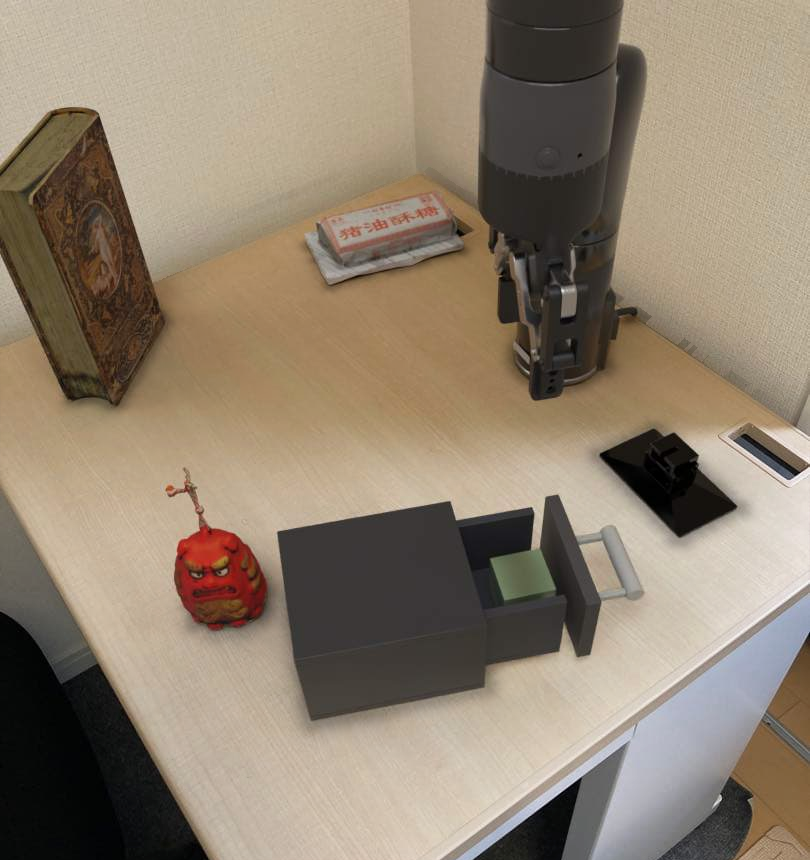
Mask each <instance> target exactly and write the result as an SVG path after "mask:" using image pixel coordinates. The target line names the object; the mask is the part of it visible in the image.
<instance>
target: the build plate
mask: <svg viewBox="0 0 810 860" xmlns="http://www.w3.org/2000/svg"><path fill="white" fill-rule="evenodd" d="M699 457H700V455H699V453H697V452H696V450H694V449H693V448H692V447H691V446H690V445H689V444H688V442H687V443H686V441H684V440H683V439H682V438H681V436H679V435H678V433H676V432H671V433H669V434H666V435H664V434H663V433H662V432H660V431H659V430H658V429H656V428H651V429H649V430H647V431H645V432H643V433H641V434H639V435H636V436H634V437H632V438H630V439H627V440H626V441H623V442H621V443H619V444H617V445H614V446H613V447H611V448H608V449H606V450H604V451H602V452H600V453H599V458H600V460H601V461H603V463H604V464H605V465H606V466H607V467H609V469H611V471H612V472H613V473H614V474H615V475H616V476H617V477H618V478H619V479H620V480H621V481H622V482H623V483H624V484H625V485H626V486H627V487H628V488H629V489H630V490H631V491H632V492H633V494H635V495H636V496H637V497H638V498H639V500H640V501H641V502H643V504H645V506H646V507H648V509H649V510H650V511H651V512H652V513H653V514H654V515H655V516H656V517H657V518H658V519H659V520H660V521H661V523H663V524H664V525H665V526H666V527H667V528H668V529H669V530H670V531H671V532H672V533H673V535H675V537H677V538H678V539H682V538H683V537H685V536H687V535H689V534H691V533H693V532H695V531H697V530H699V529H701V528H703V527H705V526H707V525H709V524H711V523H713V522H715V521H717V520H719V519H721V518H723V517H724V516H726V515H729V514H731V513H733V512H735V511H736V510H737V509H738V505H737V504H736V503H735V502H734V501H733V500H732V498H730V497H729V496H728V495H727V494H725V492H724V491H722V490H721V489H720V488H719V486H717V485H716V484H715V483H714V482H713V481H712V480H711V479H710V478H708V476H706V475H705V474H704V473H703V472H702V471H701V470H700V469H699V467H700V463H699V462H698V461H699Z"/></svg>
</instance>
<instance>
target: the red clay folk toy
mask: <svg viewBox="0 0 810 860" xmlns="http://www.w3.org/2000/svg"><path fill="white" fill-rule="evenodd" d="M182 470H183V472H184V473H185V475H184V478H185V481H184V482H183V485H184V488H175V487H174V486H173V485H172V484H168V485H166V487H165V492H166V494H167V497H168V498H174V497H175V496H176V495H178V494H185V493H187V494H188V495H189V497H190V500H191V501H192V503H193V505H194V507H195V509H194V512H195V514H197V515H198V528H199V530H198V531H196V532H193V533H192V534H191V535H189V536H188V537H187V538H182V539H180V540H179V541H178V543H177V547H176V557H175V561H174V571H173V582H174V585H175V590H176V593H177V595H178V597H179V598H180V601H181V605H182V607H183V608H184V609H185V610H186V611H187V612H188V613H189V615H190V617H191V618H192V620H193V621H194V622H195V623H197V624H200V625H201V624H202V625H205V626H206V627H207V628H208V629H209V630H212V631H218V630H220V629H221V630H222V629H223V628H224V627H225V626H231V627H232V628H239V627H243V626H244V625H246V624H247V623H249V622H250V621H253V620H256V619H258V618H259V617H260V616H261V615H262V613H263V612H264V605H265V601H266V596H267V592H268V581H267V579H266V577H265V574H264V572H263V571H262V568H261V565H260V563H259V560H258V559H257V558H256V556H255V555H254V552H252V549H251V547H250V546H249V545H248V544H247V543H244V542H243V540H242V539H241V538H240V537H239V536H238V535H237V534H236V533H235V532H230V531H228V530H225V529H222V528H217V527H215V528H214V527H213V528H212V527H211V526H210V525H209V524H208V522H207V521H206V519H205V517H204V516H203V515H204V512H205V508H204V507H203V505H200V504H199V499H198V495H197V492H196V490H197V489H198V487H197V485H196V486H195V485H194V483H193V482H192V481H191V473H190V471H189V469H188V468H187V467H183V468H182Z"/></svg>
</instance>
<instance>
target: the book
mask: <svg viewBox="0 0 810 860" xmlns="http://www.w3.org/2000/svg"><path fill="white" fill-rule="evenodd" d="M143 252H144V251H143V249H142V246H141V242H140V239H139V236H138V232H137V230H136V226H135V223H134V220H133V217H132V214H131V211H130V207H129V204H128V201H127V198H126V195H125V192H124V188H123V186H122V182H121V178H120V176H119V172H118V169H117V166H116V164H115V160H114V157H113V153H112V150H111V148H110V144H109V141H108V137H107V134H106V132H105V128H104V125H103V122H102V119H101V115H100V113H99V112H98V111H97V110H95V109H92V108H88V107H82V106H69V107H61V108H56V109H52V110H50V111H48V112H46V113H45V115H44V116H43V117H42V118H41V119H40V120H39V121H38V123H37V124H36V125H35V126H34V127H33V129H31V131H30V132H28V134H27V135H26V136H25V137H24V138H23V140H22V141H21V142H20V143H18V145H17V146H16V147H15V148H14V150H13V151H11V153H10V154H9V155H8V156H7V158H6V159H4V161H3V162H2V163H1V164H0V257H1V259H2V261H3V264H4V266H5V268H6V270H7V272H8V274H9V277H10V279H11V281H12V283H13V285H14V288H15V290H16V293H17V294H18V296H19V299H20V301H21V303H22V305H23V308H24V310H25V312H26V314H27V317H28V319H29V321H30V323H31V326H32V327H33V330H34V332H35V335H36V336H37V339H38V341H39V342H40V345H41V347H42V349H43V352H44V354H45V356H46V358H47V360H48V363H49V364H50V367H51V369H52V371H53V374H54V376H55V378H56V380H57V383H58V385H59V388H60V389H61V391H62V393H63V394H64V396H65V398H66V399H67V400H70V401H74V400H76V399H81V398H84V397H97V398H102V399H105V400H107V401H108V402H109V404H111V405H115V406H117V405H118V404H119V403H120V401H121V400H122V398H123V396H124V395H125V394H126V391H127V390H128V388H129V386H130V384H131V383H132V381H133V379H134V378H135V376H136V374H137V372H138V371H139V369H140V367H141V365H142V363H143V362H144V360H145V359H146V357H147V355H148V353H149V351H150V349H151V348H152V346H153V344H154V343H155V341H156V339H157V337H158V335H159V334H160V332H161V330H162V329H163V327H164V325H165V321H166V320H165V318H164V315H163V312H162V308H161V306H160V302H159V299H158V296H157V292H156V290H155V286H154V283H153V280H152V277H151V274H150V270H149V268H148V264H147V262H146V258H145V255H144V253H143Z"/></svg>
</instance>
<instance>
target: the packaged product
mask: <svg viewBox="0 0 810 860" xmlns="http://www.w3.org/2000/svg"><path fill="white" fill-rule="evenodd" d="M315 225H316V230H313V231H308V232H305V233H304V234H303V236H304V238H305V241H306V244H307V247H308V248H309V251H310V252H311V254H312V256H313V258H314V260H315V262H316V265H317V266H318V268H319V271H320V273H321V274H322V276H323V278H324V280H325V281H326V282H327V285H328V286H331V285H334V284H337V283H340V282H342V281H345V280H348V279H350V278H353V277H356V276H359V275H368V274H374V273H378V272H381V271H386V270H390V269H394V268H402V267H409V266H414V265H415V264H418V263H420V262H421V261H423V260H427V259H429V258H432V257H435V256H439V255H442V254H446V253H450V252H451V253H452V252H456V251H459V250H463V249H464V246H465V243H464V242H463V241H462V239H461V238H460V236H459V235H458V234H457V231H458V223H457V221H456V219H455V216H454V212H453V211H452V209H451V207H450V206H449V205H447V203H446V202H445V199H444V197H443V196H442V195H441V192H439V190H432V191H428V192H423V193H418V194H416V195H412V196H406V197H403V198H399V199H398V198H397V199H394V200H391V201H386V202H381V203H378V204H374V205H371V206H366V207H362V208H359V209H356V210H350V211H348V212H342V213H338V214H334V215H329V216H326V217H322V218H319V219H318V220H317V221H316V222H315Z"/></svg>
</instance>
